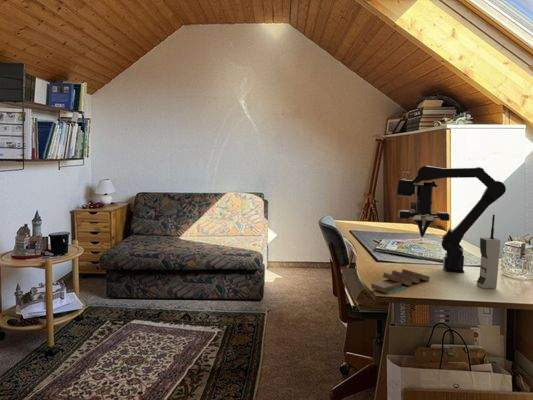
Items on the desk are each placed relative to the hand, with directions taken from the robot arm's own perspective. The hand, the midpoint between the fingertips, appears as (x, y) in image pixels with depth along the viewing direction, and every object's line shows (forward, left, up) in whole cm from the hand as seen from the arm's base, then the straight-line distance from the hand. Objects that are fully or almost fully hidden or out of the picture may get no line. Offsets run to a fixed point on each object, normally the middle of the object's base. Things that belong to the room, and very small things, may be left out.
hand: (421, 236), depth 171 cm
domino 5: (+2, +19, -11) cm, 22 cm away
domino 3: (+12, +31, -12) cm, 35 cm away
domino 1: (+13, +32, -10) cm, 36 cm away
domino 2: (+9, +27, -11) cm, 31 cm away
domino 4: (+6, +23, -11) cm, 27 cm away
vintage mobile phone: (-18, +23, -12) cm, 32 cm away
